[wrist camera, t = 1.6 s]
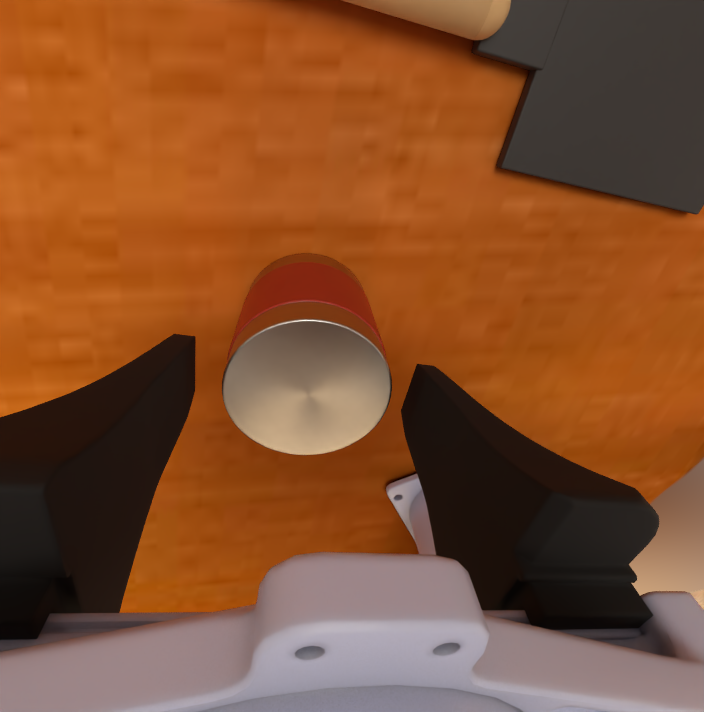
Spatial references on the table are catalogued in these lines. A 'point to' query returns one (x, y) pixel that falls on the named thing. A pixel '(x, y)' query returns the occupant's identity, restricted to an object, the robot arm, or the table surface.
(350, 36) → the table surface
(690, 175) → the spatula
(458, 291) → the table surface
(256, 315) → the tin
